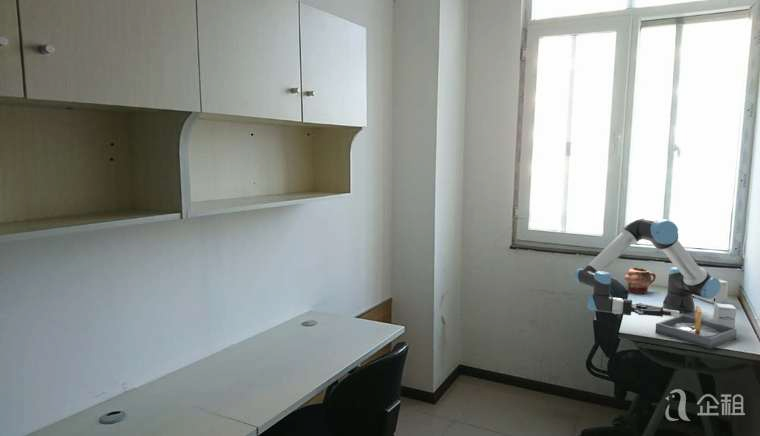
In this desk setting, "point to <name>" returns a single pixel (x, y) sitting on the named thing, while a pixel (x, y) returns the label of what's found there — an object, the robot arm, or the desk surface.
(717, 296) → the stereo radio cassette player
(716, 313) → the supplement box
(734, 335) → the gray rectangular tray
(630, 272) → the orange ceramic pot
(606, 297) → the robot arm
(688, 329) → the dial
